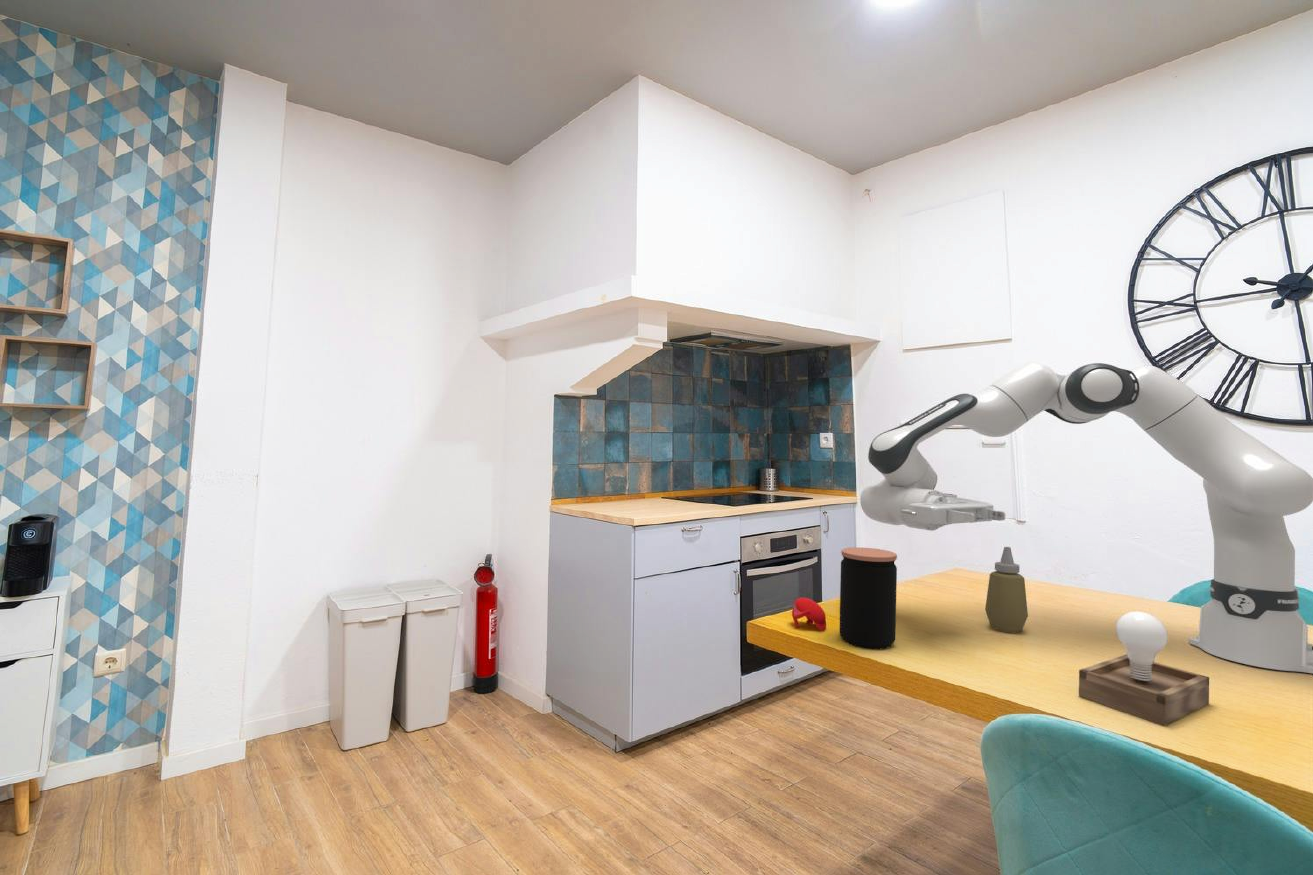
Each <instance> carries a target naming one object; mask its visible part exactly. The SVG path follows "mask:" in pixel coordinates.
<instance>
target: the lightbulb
mask: <svg viewBox="0 0 1313 875" xmlns="http://www.w3.org/2000/svg"><path fill="white" fill-rule="evenodd" d="M1115 633H1116V635H1117V636H1116V637H1117V638H1118V640H1119V641H1120V643H1121V644H1122V645H1123V647H1124V649H1125V651H1126V655H1127V656H1128V658H1129V660H1130V669H1131V670H1130V676H1131V677H1132V678H1133V679H1135V680H1136V681H1138V682H1141V683H1144V682H1148V681H1151V680H1152V679H1151V677H1152V676H1151V674H1152V673H1151V672H1152V671H1151V669H1152V664H1153V663H1154V662H1156V657H1157V655H1158V654H1159V652H1161V651H1162V650H1163V649H1164V647H1165V646H1166V645H1167V643H1168V640H1169V636H1168V630H1167V628H1166V626H1165V624H1164V623H1163V622H1162V621H1161V619H1159V618H1157V617H1156V616H1155V615H1153V614H1150V613H1148V612H1145V611H1140V610H1139V611H1136V610H1135V611H1133V610H1132V611H1129V612H1125V613H1124V614H1122V615H1121V616H1119V618H1118V619H1117V621H1116V623H1115Z"/></svg>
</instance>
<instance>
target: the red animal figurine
mask: <svg viewBox="0 0 1313 875" xmlns="http://www.w3.org/2000/svg"><path fill="white" fill-rule="evenodd" d="M791 616H792V619H793V622H794V626H795V628H797V629H798V628H800V623H799V621H798V620H799V619H802V618H804V617H805V618H806V619H807V620H806V621H805V623H806V625H809V624H813V623H814V625H815V626H816V628H817V629H818V630H819V631H820V632H825V631H826V629H827V620H826V619H827V618H826V612H825V611H824V609H823V608H822V607H821V605H820V604H819V603H817V602H816V601H814V600H812V599H810V598H807V597H799V598H797V599H795V600H794V606H793V608H792V611H791Z"/></svg>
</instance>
